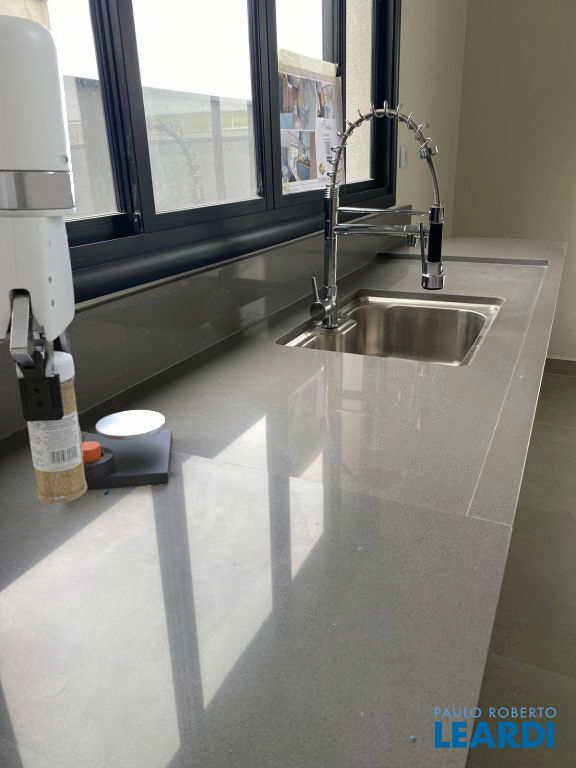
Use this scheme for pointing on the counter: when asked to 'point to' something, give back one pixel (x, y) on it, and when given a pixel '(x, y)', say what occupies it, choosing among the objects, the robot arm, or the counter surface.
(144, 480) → the scale
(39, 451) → the spice jar
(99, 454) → the tare button
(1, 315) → the robot arm
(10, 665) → the counter surface
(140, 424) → the weighing pan
